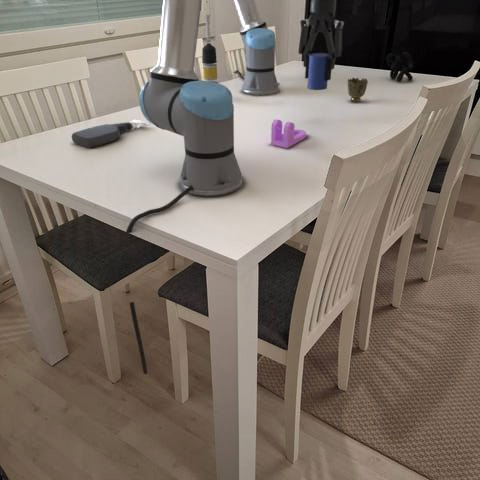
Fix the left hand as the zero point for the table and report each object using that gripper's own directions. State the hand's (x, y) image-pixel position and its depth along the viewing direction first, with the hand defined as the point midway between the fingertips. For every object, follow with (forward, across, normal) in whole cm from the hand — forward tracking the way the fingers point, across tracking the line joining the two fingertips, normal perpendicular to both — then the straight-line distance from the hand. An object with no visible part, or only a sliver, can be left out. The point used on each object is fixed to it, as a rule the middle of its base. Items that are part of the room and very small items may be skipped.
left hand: (317, 78), depth 145 cm
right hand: (-13, +17, -57) cm, 60 cm away
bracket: (+14, -2, +22) cm, 26 cm away
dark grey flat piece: (+14, +48, +46) cm, 69 cm away
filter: (+14, +48, -6) cm, 50 cm away
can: (+3, 0, 0) cm, 3 cm away
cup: (+14, -3, -30) cm, 33 cm away
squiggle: (+14, -7, -73) cm, 75 cm away
